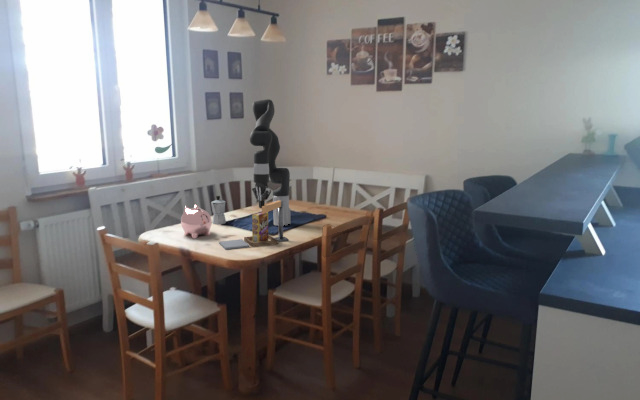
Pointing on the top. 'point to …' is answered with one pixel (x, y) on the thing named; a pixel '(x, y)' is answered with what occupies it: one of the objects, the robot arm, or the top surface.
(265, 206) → the arm
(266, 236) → the candy box
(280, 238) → the post
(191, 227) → the piggy bank
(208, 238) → the top surface
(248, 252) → the top surface
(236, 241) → the mat
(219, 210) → the coffee maker
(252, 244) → the wooden tray
